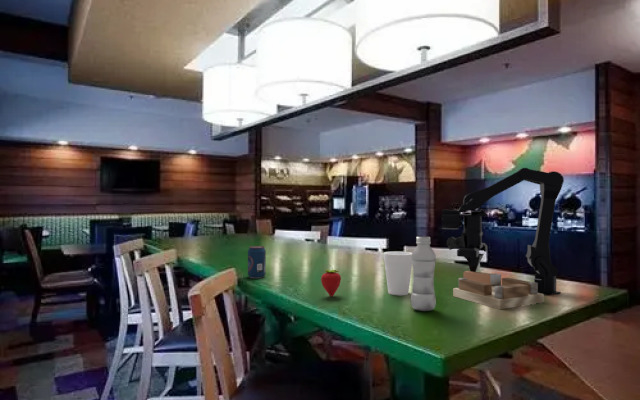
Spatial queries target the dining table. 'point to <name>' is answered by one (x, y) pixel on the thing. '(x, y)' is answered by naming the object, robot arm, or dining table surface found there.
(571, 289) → the dining table surface
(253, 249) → the soda can
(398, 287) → the foam cup
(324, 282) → the strawberry
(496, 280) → the hinged leg
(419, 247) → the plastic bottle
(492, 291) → the flat cream base board
